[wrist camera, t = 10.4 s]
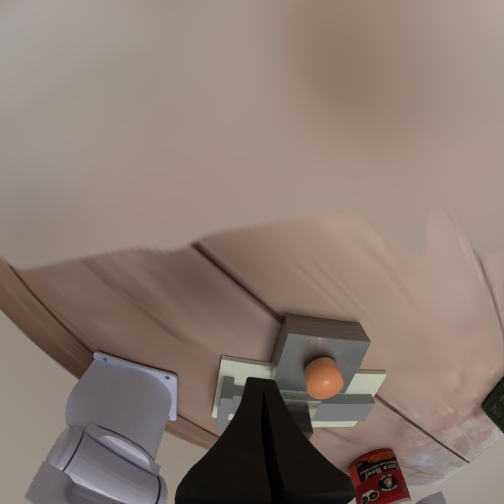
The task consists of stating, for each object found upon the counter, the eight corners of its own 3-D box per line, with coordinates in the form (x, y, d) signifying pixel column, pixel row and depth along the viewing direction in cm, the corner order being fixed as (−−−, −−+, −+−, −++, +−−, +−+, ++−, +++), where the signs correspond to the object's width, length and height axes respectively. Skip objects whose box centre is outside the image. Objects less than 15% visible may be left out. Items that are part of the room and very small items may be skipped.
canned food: (399, 442, 30) (420, 495, 19) (385, 465, 32) (400, 512, 22) (354, 454, 30) (369, 512, 20) (344, 474, 33) (355, 525, 22)
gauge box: (269, 366, 24) (270, 388, 22) (284, 313, 23) (288, 333, 20) (340, 372, 25) (347, 393, 22) (362, 323, 23) (373, 342, 20)
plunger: (299, 381, 21) (302, 398, 19) (309, 355, 20) (314, 372, 18) (330, 383, 21) (335, 399, 19) (342, 358, 20) (348, 374, 18)
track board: (212, 413, 27) (208, 437, 23) (222, 355, 24) (217, 381, 21) (352, 422, 27) (359, 444, 24) (385, 370, 25) (396, 392, 21)
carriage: (254, 417, 26) (254, 458, 20) (266, 380, 24) (268, 425, 19) (299, 420, 26) (304, 460, 21) (317, 384, 24) (327, 427, 19)
